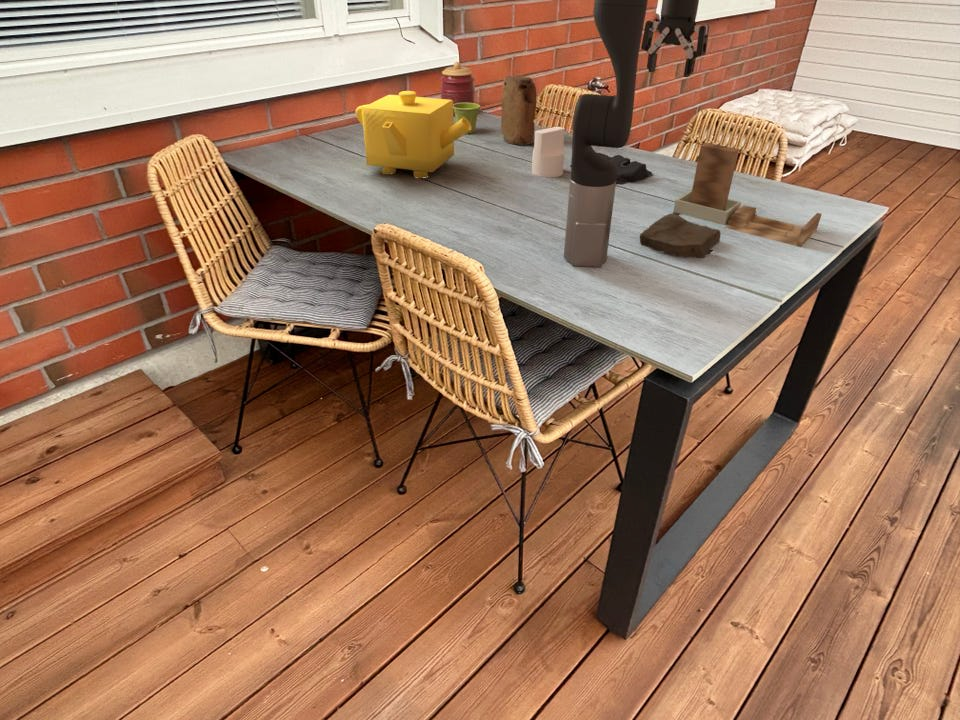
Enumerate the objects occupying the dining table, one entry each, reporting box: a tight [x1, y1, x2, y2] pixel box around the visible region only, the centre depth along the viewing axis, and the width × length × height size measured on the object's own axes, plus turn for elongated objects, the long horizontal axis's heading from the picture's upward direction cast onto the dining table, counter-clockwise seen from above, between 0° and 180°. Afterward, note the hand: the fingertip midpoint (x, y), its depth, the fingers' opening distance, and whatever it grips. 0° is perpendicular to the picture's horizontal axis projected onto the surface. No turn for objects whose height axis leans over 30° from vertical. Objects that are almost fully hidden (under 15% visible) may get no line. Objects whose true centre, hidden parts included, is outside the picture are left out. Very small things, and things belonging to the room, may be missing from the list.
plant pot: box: [453, 102, 481, 135], centre depth 220 cm, size 9×9×9 cm
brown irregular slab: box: [639, 212, 721, 259], centre depth 145 cm, size 17×15×4 cm
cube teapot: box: [355, 90, 472, 179], centre depth 183 cm, size 35×30×21 cm
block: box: [500, 75, 537, 146], centre depth 207 cm, size 11×8×20 cm
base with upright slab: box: [531, 126, 566, 178], centre depth 184 cm, size 9×9×12 cm
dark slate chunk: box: [569, 152, 654, 186], centre depth 188 cm, size 15×22×5 cm
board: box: [690, 142, 740, 211], centre depth 155 cm, size 8×3×16 cm, turn 51°
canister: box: [439, 61, 476, 117], centre depth 240 cm, size 13×13×18 cm
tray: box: [672, 189, 742, 226], centre depth 159 cm, size 13×9×4 cm
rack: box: [724, 204, 822, 248], centre depth 150 cm, size 17×12×5 cm
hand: (669, 74), depth 146 cm, fingers open, 8 cm apart
